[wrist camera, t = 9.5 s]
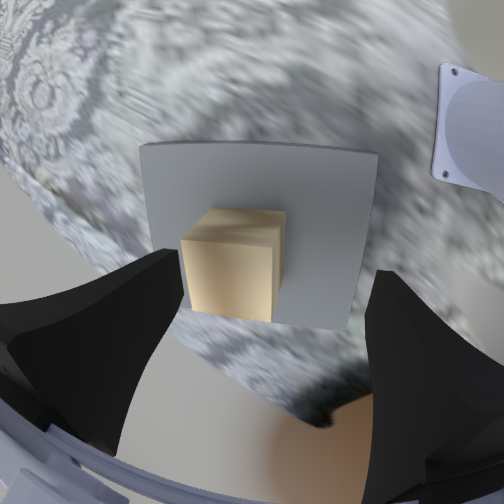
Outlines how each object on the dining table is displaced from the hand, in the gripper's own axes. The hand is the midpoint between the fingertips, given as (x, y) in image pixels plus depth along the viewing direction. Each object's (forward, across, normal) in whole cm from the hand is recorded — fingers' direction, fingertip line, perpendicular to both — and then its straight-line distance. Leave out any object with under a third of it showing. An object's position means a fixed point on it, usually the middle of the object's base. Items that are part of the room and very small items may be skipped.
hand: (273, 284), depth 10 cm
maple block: (+9, +3, +3) cm, 10 cm away
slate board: (+11, +3, +4) cm, 12 cm away
